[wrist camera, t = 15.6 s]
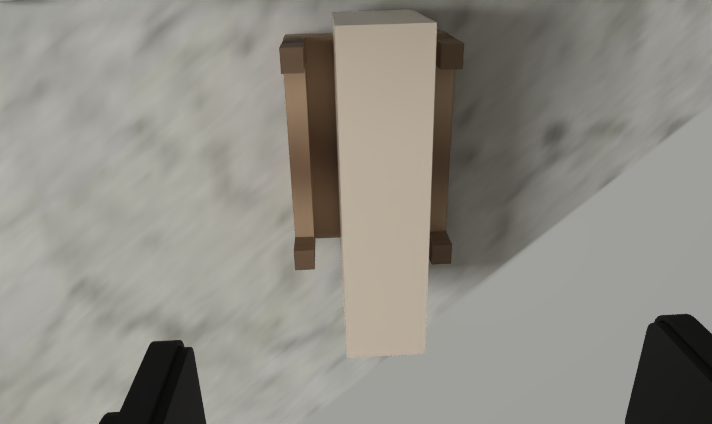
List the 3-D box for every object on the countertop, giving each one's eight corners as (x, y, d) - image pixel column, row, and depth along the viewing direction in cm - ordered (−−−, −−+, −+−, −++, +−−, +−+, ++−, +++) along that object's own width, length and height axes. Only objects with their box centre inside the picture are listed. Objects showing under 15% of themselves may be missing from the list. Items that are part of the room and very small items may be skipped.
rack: (285, 34, 26) (278, 48, 22) (443, 30, 26) (465, 43, 22) (297, 228, 30) (294, 270, 26) (434, 223, 30) (451, 263, 26)
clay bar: (332, 11, 24) (334, 25, 19) (411, 9, 24) (437, 22, 19) (342, 285, 30) (346, 357, 25) (406, 282, 30) (425, 353, 25)
